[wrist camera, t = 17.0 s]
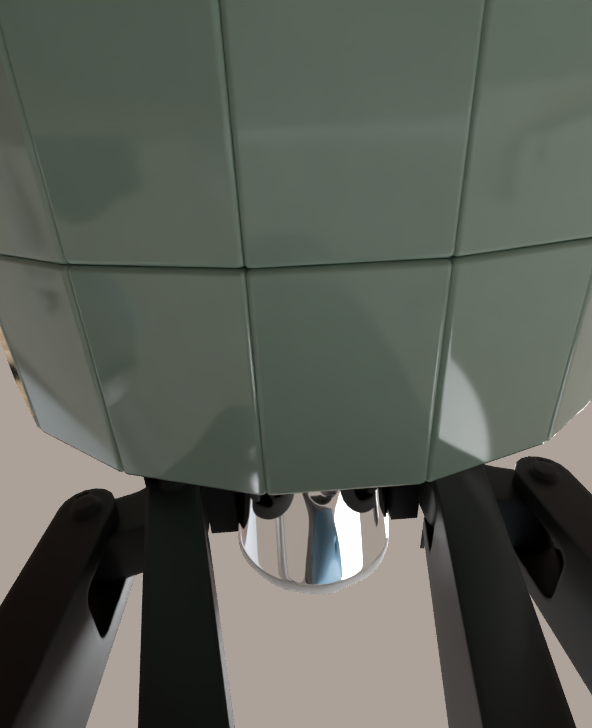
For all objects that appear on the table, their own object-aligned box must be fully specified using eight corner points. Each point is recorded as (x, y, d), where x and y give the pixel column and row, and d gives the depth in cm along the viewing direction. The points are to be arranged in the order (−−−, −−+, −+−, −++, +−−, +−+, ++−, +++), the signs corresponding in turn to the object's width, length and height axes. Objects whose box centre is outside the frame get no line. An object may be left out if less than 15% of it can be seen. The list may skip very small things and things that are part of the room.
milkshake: (244, 236, 13) (270, 492, 17) (160, 290, 8) (226, 623, 12) (402, 233, 12) (386, 504, 16) (412, 293, 7) (385, 649, 12)
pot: (84, 75, 13) (126, 269, 16) (-834, -320, 2) (-189, 533, 5) (474, 60, 14) (451, 252, 16) (1342, -326, 3) (835, 455, 5)
